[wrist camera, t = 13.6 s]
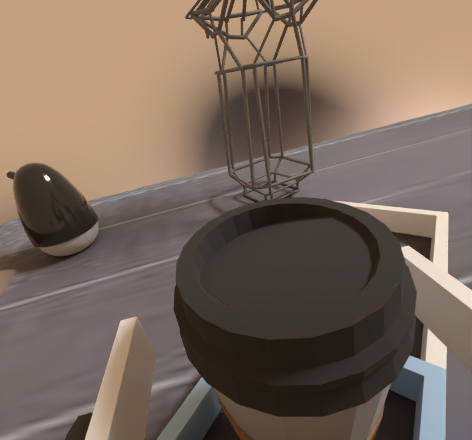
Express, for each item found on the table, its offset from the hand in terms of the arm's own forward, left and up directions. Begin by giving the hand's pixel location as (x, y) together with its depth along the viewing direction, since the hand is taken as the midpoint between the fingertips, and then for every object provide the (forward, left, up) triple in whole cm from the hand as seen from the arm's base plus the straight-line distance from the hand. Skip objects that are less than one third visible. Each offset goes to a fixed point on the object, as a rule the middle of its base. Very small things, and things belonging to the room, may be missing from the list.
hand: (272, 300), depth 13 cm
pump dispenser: (+42, -4, -10) cm, 44 cm away
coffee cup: (-2, +1, -10) cm, 10 cm away
